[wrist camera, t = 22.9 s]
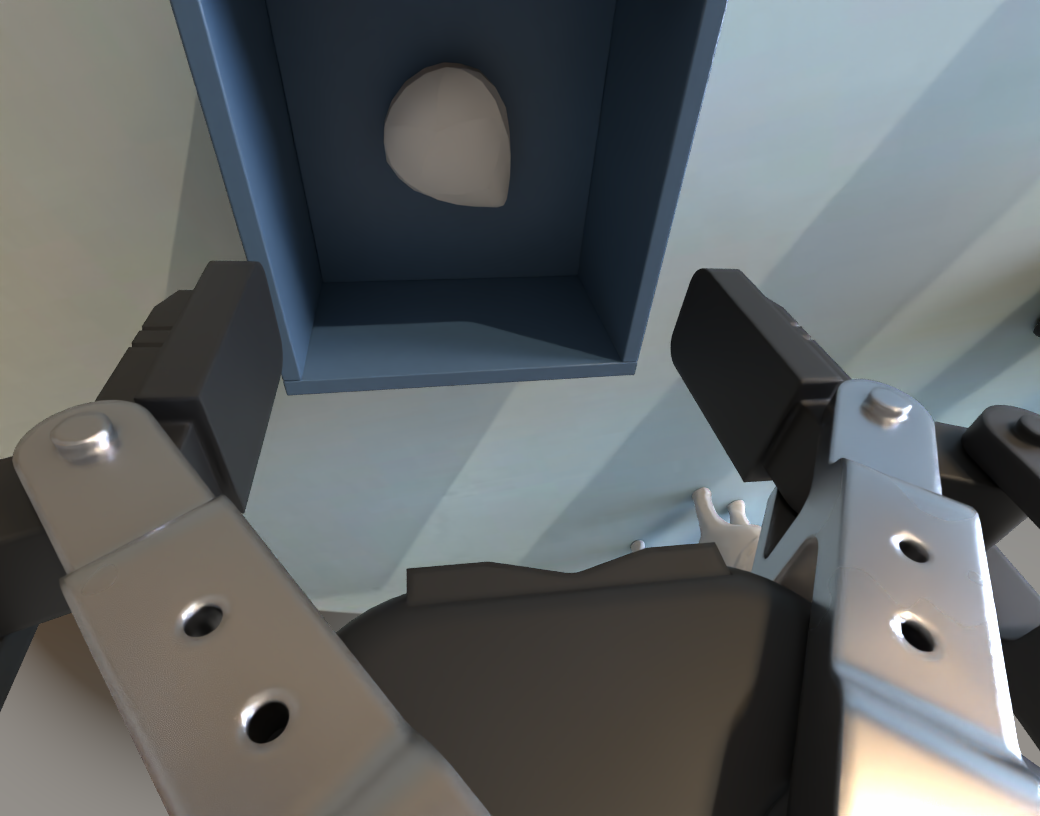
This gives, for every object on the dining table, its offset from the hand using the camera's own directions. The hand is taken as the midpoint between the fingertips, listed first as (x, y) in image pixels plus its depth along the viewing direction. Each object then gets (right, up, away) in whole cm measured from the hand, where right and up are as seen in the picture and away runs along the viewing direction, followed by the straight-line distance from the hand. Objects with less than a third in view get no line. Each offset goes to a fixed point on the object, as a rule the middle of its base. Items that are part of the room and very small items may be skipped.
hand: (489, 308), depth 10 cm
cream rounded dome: (-2, +8, +9) cm, 12 cm away
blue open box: (-1, +6, +7) cm, 9 cm away
